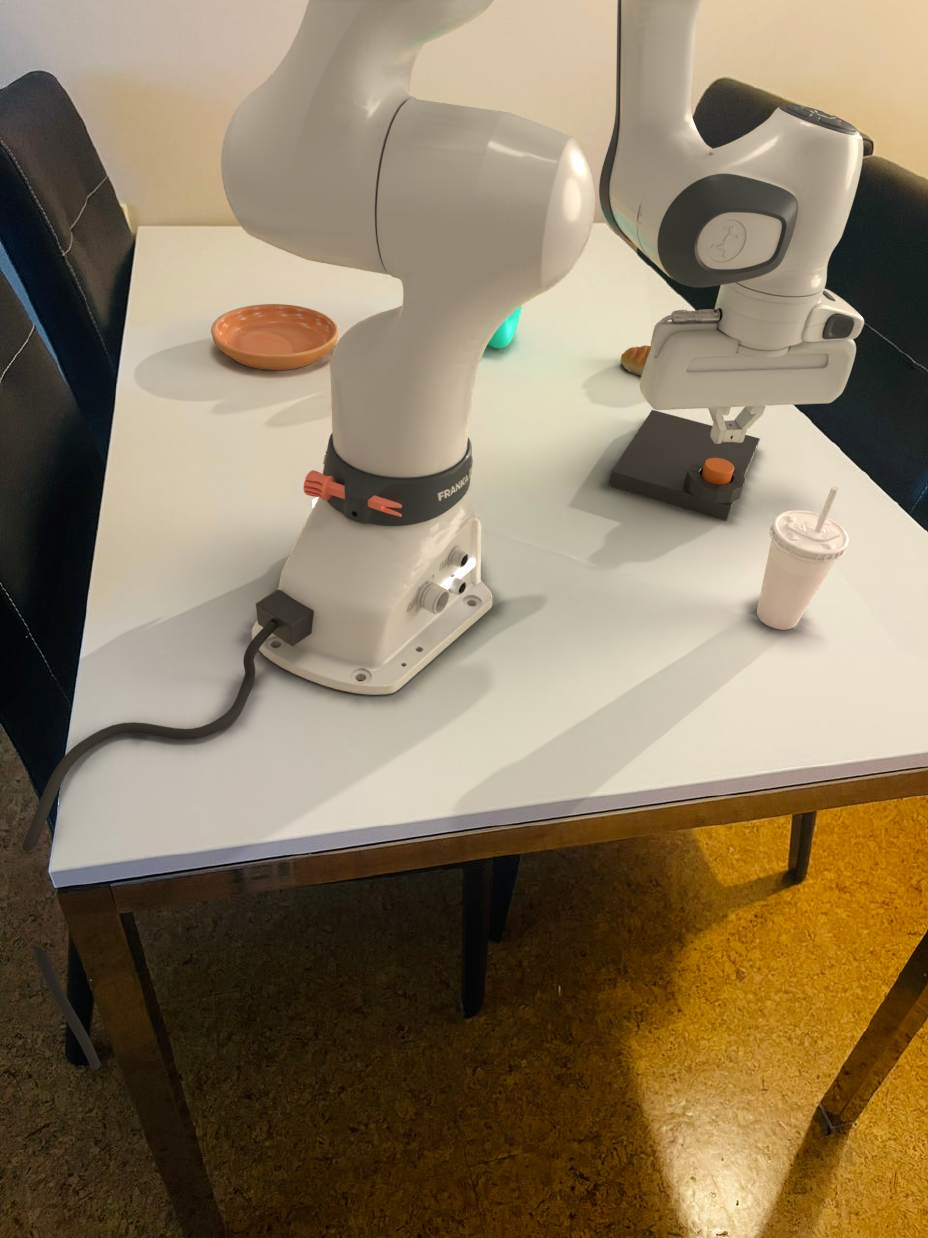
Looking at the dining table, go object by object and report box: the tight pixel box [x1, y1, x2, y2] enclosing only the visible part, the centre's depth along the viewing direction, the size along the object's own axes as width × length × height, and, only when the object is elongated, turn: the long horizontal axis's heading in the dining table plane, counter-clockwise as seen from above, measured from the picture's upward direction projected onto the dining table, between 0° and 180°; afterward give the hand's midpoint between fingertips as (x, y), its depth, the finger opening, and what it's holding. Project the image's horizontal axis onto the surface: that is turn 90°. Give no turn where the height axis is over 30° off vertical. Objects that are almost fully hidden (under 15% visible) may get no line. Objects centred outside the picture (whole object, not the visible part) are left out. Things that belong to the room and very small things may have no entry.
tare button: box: [702, 458, 734, 485], centre depth 93 cm, size 3×3×2 cm
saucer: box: [210, 303, 339, 371], centre depth 115 cm, size 16×16×3 cm
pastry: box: [620, 345, 651, 377], centre depth 117 cm, size 9×7×4 cm
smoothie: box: [756, 486, 850, 631], centre depth 77 cm, size 6×6×14 cm
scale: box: [608, 409, 761, 521], centre depth 99 cm, size 16×13×4 cm
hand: (725, 440), depth 91 cm, fingers closed
